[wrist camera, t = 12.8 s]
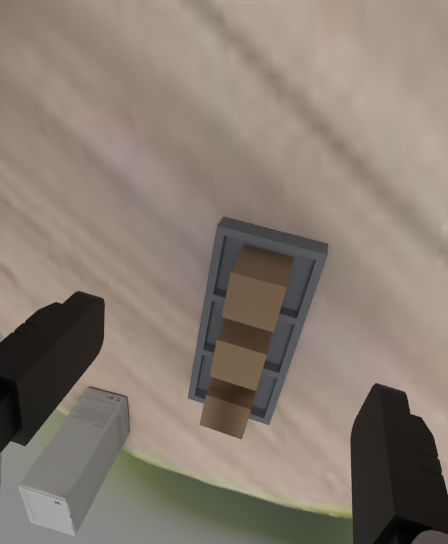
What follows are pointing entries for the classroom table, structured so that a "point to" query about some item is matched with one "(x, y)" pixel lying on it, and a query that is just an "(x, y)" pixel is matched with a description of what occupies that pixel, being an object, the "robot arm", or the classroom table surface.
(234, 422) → the block
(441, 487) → the robot arm
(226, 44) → the classroom table surface
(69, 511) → the skincare box
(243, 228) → the tray
